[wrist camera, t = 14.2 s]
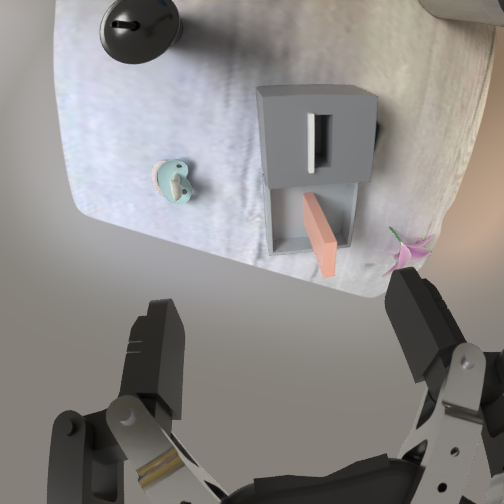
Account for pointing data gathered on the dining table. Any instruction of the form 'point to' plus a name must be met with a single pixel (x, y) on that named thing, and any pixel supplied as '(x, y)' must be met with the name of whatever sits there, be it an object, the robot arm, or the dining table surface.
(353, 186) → the bin
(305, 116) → the dispenser
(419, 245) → the lily
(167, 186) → the pacifier
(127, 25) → the drinking cup
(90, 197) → the dining table surface
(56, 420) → the robot arm
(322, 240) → the tall pink plank
